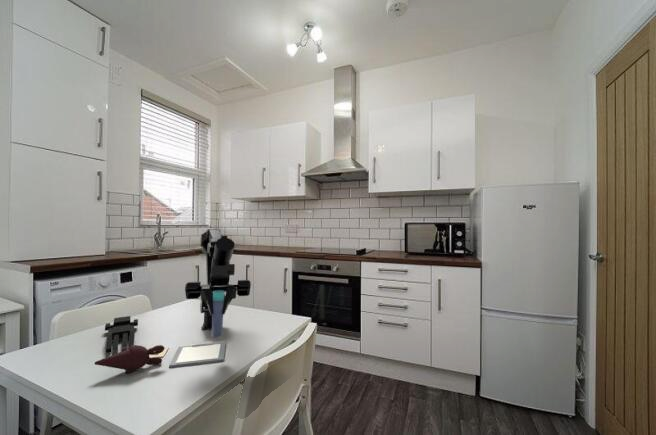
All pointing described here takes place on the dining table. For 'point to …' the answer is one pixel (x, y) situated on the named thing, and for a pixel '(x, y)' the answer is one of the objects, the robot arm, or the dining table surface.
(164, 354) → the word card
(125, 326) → the toy
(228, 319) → the dining table surface
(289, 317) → the dining table surface
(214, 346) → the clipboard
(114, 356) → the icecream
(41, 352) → the dining table surface
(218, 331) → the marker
